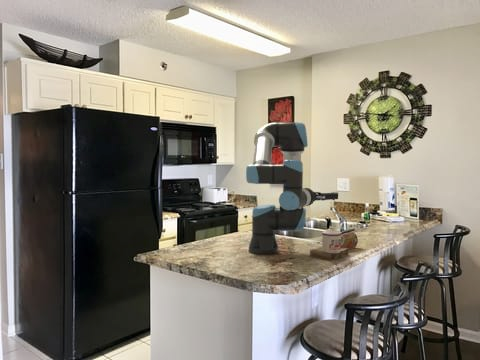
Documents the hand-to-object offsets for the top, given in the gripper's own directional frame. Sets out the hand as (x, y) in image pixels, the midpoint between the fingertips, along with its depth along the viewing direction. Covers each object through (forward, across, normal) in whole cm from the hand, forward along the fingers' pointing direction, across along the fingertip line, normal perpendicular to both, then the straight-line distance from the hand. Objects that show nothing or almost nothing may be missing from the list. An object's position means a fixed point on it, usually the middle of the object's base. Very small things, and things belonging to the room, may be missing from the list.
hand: (322, 193), depth 179 cm
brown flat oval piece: (+28, +2, -32) cm, 43 cm away
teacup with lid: (+7, +3, -28) cm, 29 cm away
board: (+9, 0, -31) cm, 32 cm away
